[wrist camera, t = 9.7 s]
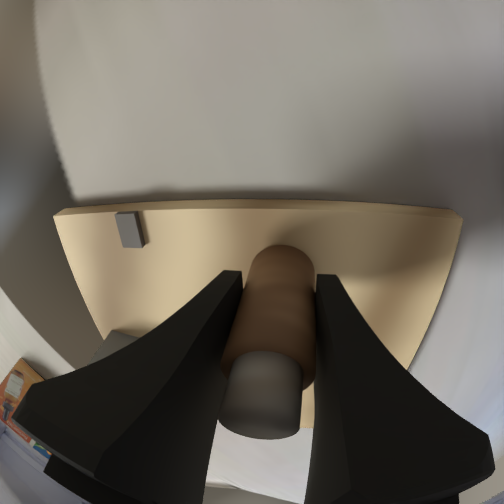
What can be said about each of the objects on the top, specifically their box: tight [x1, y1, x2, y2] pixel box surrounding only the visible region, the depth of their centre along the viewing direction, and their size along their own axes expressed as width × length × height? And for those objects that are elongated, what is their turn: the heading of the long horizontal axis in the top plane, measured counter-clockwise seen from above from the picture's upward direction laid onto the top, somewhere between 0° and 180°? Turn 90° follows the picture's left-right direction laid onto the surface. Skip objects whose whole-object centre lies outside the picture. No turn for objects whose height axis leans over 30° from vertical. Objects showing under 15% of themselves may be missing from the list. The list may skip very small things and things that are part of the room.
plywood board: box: [54, 199, 463, 428], centre depth 14 cm, size 18×16×1 cm
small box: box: [0, 358, 45, 447], centre depth 24 cm, size 8×6×10 cm
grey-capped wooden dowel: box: [218, 245, 316, 440], centre depth 8 cm, size 2×2×6 cm
